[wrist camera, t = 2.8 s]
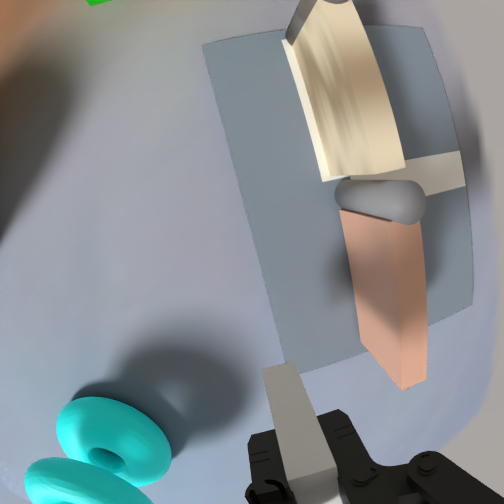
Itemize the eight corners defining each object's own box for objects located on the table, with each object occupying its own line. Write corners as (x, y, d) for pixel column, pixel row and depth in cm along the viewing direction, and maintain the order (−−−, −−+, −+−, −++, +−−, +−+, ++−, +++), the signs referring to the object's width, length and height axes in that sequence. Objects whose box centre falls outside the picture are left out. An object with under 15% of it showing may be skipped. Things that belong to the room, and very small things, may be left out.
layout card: (202, 50, 16) (201, 44, 15) (416, 31, 17) (422, 27, 16) (287, 370, 21) (290, 377, 20) (466, 301, 22) (473, 304, 21)
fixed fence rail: (281, 26, 16) (306, -34, 9) (311, 23, 16) (346, -33, 9) (326, 176, 18) (377, 175, 11) (356, 170, 18) (416, 166, 11)
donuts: (-5, 460, 10) (145, 504, 11) (51, 380, 20) (167, 397, 21) (50, 533, 12) (170, 562, 13) (80, 458, 22) (178, 474, 23)
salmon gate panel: (331, 183, 18) (386, 184, 11) (358, 176, 18) (422, 176, 11) (359, 341, 20) (404, 397, 13) (382, 333, 20) (433, 384, 14)
